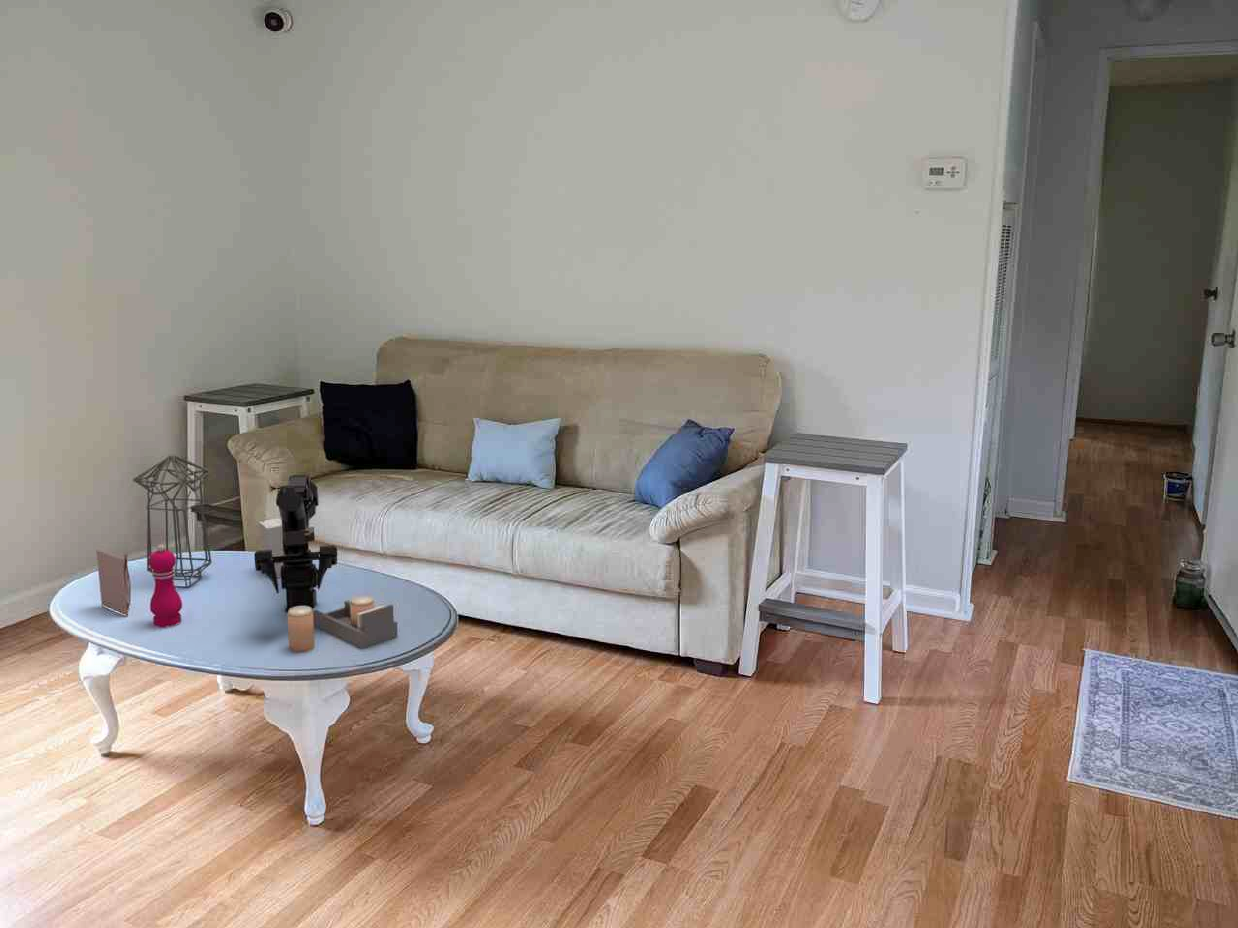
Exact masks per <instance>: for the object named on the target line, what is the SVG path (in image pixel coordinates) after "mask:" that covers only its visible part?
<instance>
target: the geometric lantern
mask: <svg viewBox="0 0 1238 928" xmlns="http://www.w3.org/2000/svg"><path fill="white" fill-rule="evenodd" d="M170 463H172V466H173V469H170V468H169V466H170ZM186 464H187V465H190V466H191V467H194V468H197V469H199V470H195V471H193V470H192V469H191V468H189V467H188V466H187V465H186ZM178 468H179V469H180V470H179V469H178ZM162 471H163V473H162V477H161V480H160V481H158V480H159V477H160V475H161V472H162ZM167 472H168V474H170V475H172V476H174V477H175V478H176V479H177V481H175V482H174V481H173V482H172V481H171V482H164V480H165V477H166V473H167ZM198 473H199V474H200V473H202V474H201V475H200V476H198ZM213 473H214V472H213V471H212V470H209V469H208V468H205V467H203V466H201V465H198V464H196V463H194V462H191V461H189V460H187V459H186V458H185V459H184V458H183V457H180V456H178V455H175V454H174V455H173V454H172V455H168V456H167V457H165V458H164V459H163V460H161V461H159V462H158V463H156V464H155V465H153V466H151V467H150V468H149V469H147V470H145V471H143V472H142V473H140V474H138V475H137V476H135V477H134V478H133V479H132V481H133V482H134V483H136V484H138V485H139V486H141V487H142V488H144V489H145V490H147V491H146V493H147V494H146V495H147V504H146V508H145V509H147V517H146V520H147V521H146V522H147V524H146V525H147V527H146V528H147V529H146V530H147V531H146V533H147V534H146V535H147V536H146V538H147V539H146V541H147V542H146V571H148V572H149V573H151V574H152V571H153V569H152V568H151V567H150V566H149V558H150V556H151V555H152V554H153V553H152V535H151V532H152V531H151V514H150V513H151V512H150V510H154V511H164V512H165V550H167V551H169V525H168V523H169V522H168V521H169V519H168V518H169V517H168V515H169V514H168V512H169V511H172V516H173V529H174V531H173V533H174V545H175V546H174V547H175V558H176V564H175V566H174V567H175V568H173V569H174V573H175V575H174V576H173V581H184V583H185V586H184V585H174V586H175V588H183V589H189V588H190V587H193V585H195V584H196V583H198V582H199V581H200V580H202V579H203V577H202V572H203V571H205V569H207V567H209V566H210V565H211V564H212V557H211V549H210V542H209V538H208V530H207V524H206V518H205V512H204V506H203V505H204V504H203V503H204V499H203V489H202V488H203V485H204V483H205V482H206V481H207V479H208V477H209V476H210V475H211V474H213ZM180 474H183V476H184V479H183V478H181V475H180ZM146 475H147V476H146ZM144 476H145V477H144ZM191 476H194V477H193V478H191ZM150 478H152V480H149V479H150ZM202 479H203V480H202ZM198 481H199V485H198V486H197V487H196V483H197V482H198ZM157 484H158V485H159V487H160V490H161V491H160V490H159V488H158V487H157ZM170 485H171V486H170ZM184 485H187V486H188V488H189V489H190V491H189V492H188V494H187V497H186V498H176V497H177V496H178V494H179V493H180V491H181V488H183V486H184ZM163 486H170V487H168V488H167V489H165V490H164V489H163ZM178 486H179V487H178ZM176 487H178V488H177V491H176V492H175V493H174V495H173V497H172V498H170V497H169V495H168V494H167V492H169V491H171V490H172V489H174V488H176ZM154 488H155V490H156V491H157V492H155V491H154ZM197 490H199V494H200V496H199V497H200V499H199V497H198V494H197ZM192 492H194V494H195V497H196V499H195V498H194V499H191V498H189V497H190V495H191V493H192ZM150 493H151V495H150ZM153 495H154V496H156V495H161V497H163V500H160V501H157V502H155V503H152V504H150V503H151V500H152V498H153ZM175 500H176V501H184V502H183V503H182V504H183V505H182V506H181V508H178V507H177V506H176V504H175ZM187 501H188V502H189V501H191V502H192V501H193V502H194V501H195V502H199V503H196V504H194V505H191V506H189V507H186V508H184V506H185V504H186V503H187ZM163 502H165V504H164V507H165V508H156V507H154V506H156V505H158V504H160V503H163ZM168 502H170V503H171V505H172V508H169V507H168ZM199 505H200V506H199ZM197 506H199V507H200V514H201V515H200V516H201V525H202V534H203V544H204V554H205V558H202V557H200V558H199V557H198V558H197V557H192V551H191V544H190V536H189V529H188V520H187V514H186V513H187V511H188V510H189V509H193V508H195V507H197ZM181 511H182V512H183V518H184V527H185V535H186V542H187V543H186V544H187V551H188V557H183V555H182V544H181V543H182V541H181V531H180V521H179V519H180V518H179V512H181ZM178 560H179V561H178ZM183 560H186V561H189V564H190V569H189V568H188V569H187V568H186V569H185V568H184V567H183ZM193 561H204V562H203V564H202V565H201V566H199V567H196V568H195V569H194V565H193ZM178 562H179V564H180V568H179V569H178ZM178 571H180V572H178ZM195 572H196V573H195ZM189 574H190V575H189ZM175 576H176V577H175ZM180 576H183V578H177V577H180ZM193 578H198V579H197V580H195V581H194V582H192V581H191V580H192V579H193ZM187 581H188V583H189V585H188V584H187Z"/></svg>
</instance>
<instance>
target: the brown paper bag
mask: <svg viewBox="0 0 1238 928" xmlns="http://www.w3.org/2000/svg"><path fill="white" fill-rule="evenodd" d="M126 547H127V545H125V547H124V550H123V554H122V557H121V558H119V557H117V556H114V555H111V554H108V553H105V552H103V551H100V550H95V551H96V562H97V573H98V582H99V591H100V600H101V601H100V602H101V606H102V605H104V606H106V607H108V608H111V609H113V610H115V611H118V612H120V613H122V614H125V615H126V616H128V617H129V613H128V611H129V612H130V608H129V606H130V607H131V603H130V601H131V602H132V597H131V594H132V593H131V592H132V591H131V590H132V589H131V588H132V587H131V585H132V584H131V580H130V579H131V578H130V574H129V566H128V553H127V548H126ZM126 616H125V617H126Z"/></svg>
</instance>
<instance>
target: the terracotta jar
mask: <svg viewBox="0 0 1238 928" xmlns="http://www.w3.org/2000/svg"><path fill="white" fill-rule="evenodd" d="M313 611H314V610H312V608H311V607H308V606H296V607H293V608H290V609H289V612H287V613H286V614H287V627H288V628H287V629H288V630H287V631H288V645H289V646H288V647H289V651H291V652H295V653H306V652H309V651H312V650H313V649H315V646H316V645H315V629H314V627H315V626H314V624H313Z"/></svg>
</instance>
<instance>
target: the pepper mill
mask: <svg viewBox="0 0 1238 928" xmlns="http://www.w3.org/2000/svg"><path fill="white" fill-rule="evenodd" d="M156 549H157V551H155V552H153V553H152V555H151V556H149V568H150V567H151V568H152V573H151V574H152V575H151V576H152V578H153V579H154V590H153V593H152V596H151V599H150V602H149V610H150V612H151V613H152V614H153V615H154V616H153V618H152V621H153V625H154V626H155V625H156V626H155V627H157V626H159V627H158V628H167V627H166V626H171V627H173V626H172V625H175V624H177V623H179V622H180V623H182V614H181V613H180V611H181V610H182V608H183V602H182V598H181V596H180V594H179V593H178V591H177V589H176V587H175V586H176V585H175V584H174V580H173V578H174V577H173V576H175V573H174V572H175V571H174V569H175V568H174V567H175V566H176V555H175V554H174V553H173V552H172V551H169V550H168V551H167V550H166V545H165V544H159V545H158V546H157V548H156ZM180 623H179V624H180ZM177 625H178V624H177ZM175 626H176V625H175Z"/></svg>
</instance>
